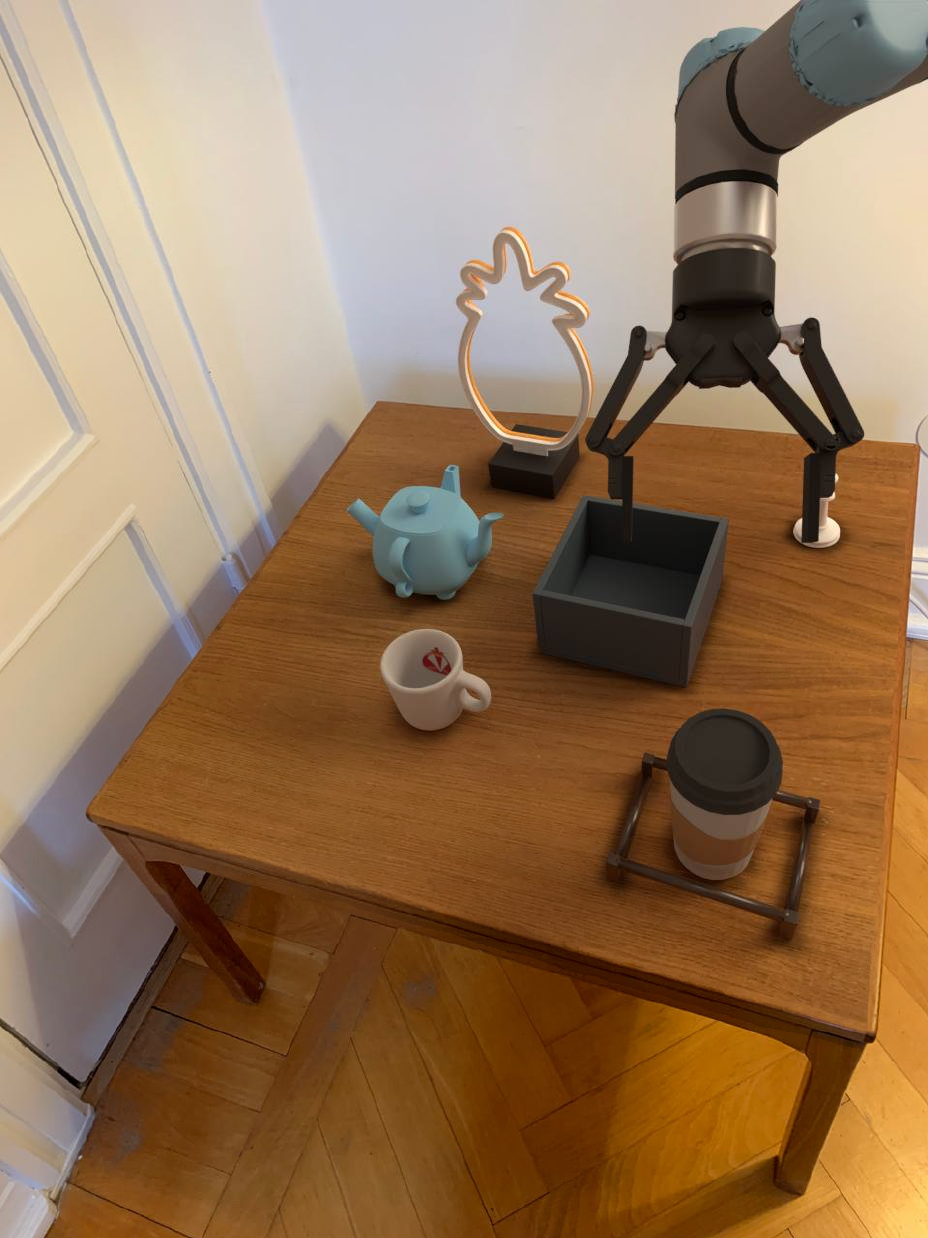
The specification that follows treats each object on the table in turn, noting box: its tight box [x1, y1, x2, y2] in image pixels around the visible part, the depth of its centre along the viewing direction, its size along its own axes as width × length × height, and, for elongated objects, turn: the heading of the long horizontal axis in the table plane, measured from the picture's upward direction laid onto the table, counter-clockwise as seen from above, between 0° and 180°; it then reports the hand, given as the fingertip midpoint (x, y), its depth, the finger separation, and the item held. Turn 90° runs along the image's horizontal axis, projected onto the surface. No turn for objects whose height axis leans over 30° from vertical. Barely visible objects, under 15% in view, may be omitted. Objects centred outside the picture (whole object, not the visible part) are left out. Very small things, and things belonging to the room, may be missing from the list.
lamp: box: [455, 226, 595, 500], centre depth 100 cm, size 17×9×32 cm, turn 64°
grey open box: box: [531, 494, 730, 688], centre depth 89 cm, size 16×16×9 cm
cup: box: [379, 628, 492, 732], centre depth 84 cm, size 11×8×8 cm
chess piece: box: [792, 473, 841, 549], centre depth 93 cm, size 5×5×10 cm
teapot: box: [346, 464, 504, 601], centre depth 97 cm, size 15×14×11 cm
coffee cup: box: [666, 708, 784, 881], centre depth 68 cm, size 8×8×15 cm
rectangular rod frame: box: [605, 751, 822, 941], centre depth 72 cm, size 15×11×3 cm
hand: (716, 542), depth 66 cm, fingers open, 13 cm apart
